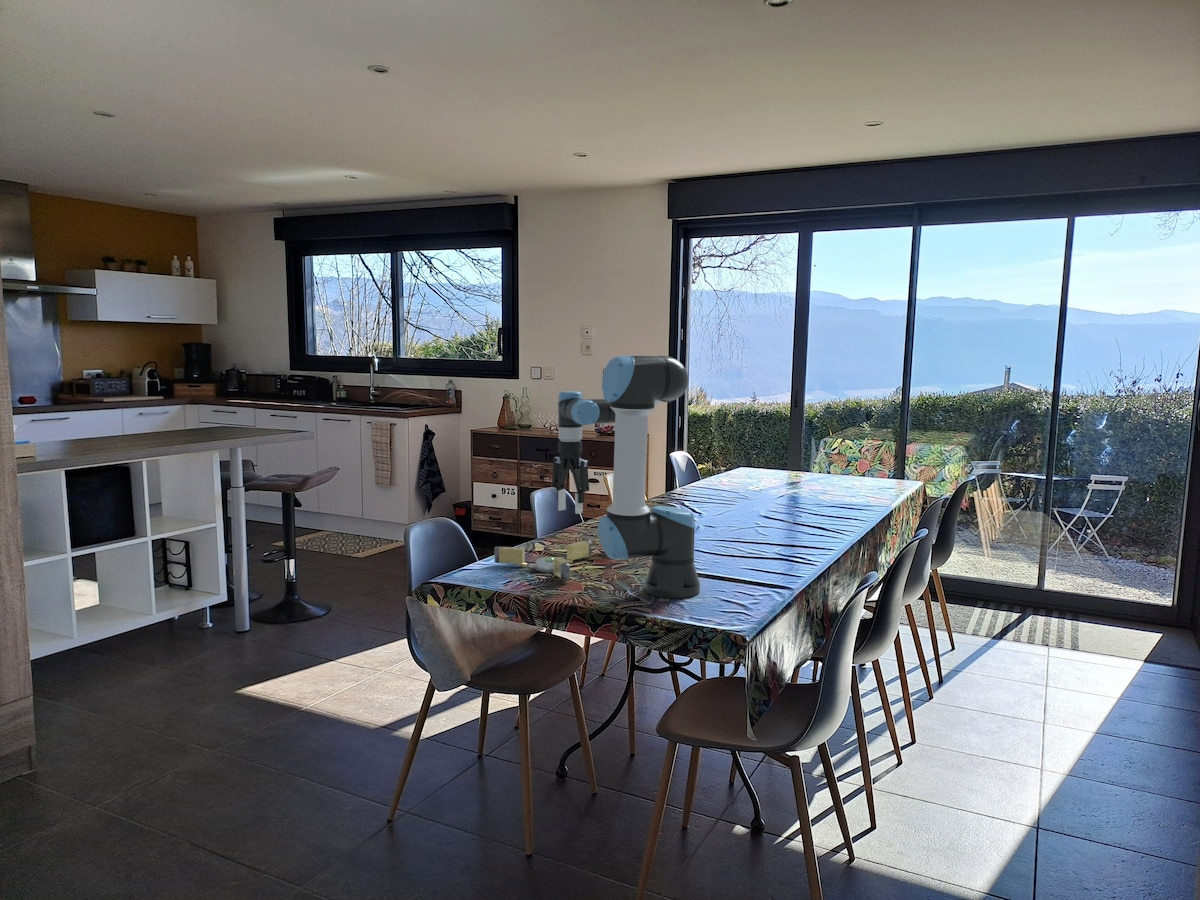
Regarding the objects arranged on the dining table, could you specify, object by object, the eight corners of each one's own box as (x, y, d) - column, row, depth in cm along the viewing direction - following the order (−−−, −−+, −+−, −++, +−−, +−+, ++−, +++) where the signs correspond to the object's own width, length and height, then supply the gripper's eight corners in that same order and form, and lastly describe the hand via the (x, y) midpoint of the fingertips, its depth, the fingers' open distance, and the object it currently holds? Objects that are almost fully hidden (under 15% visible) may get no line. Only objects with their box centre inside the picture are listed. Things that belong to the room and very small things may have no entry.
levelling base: (559, 574, 236) (559, 563, 236) (524, 572, 238) (524, 561, 238) (569, 564, 248) (569, 554, 247) (535, 562, 250) (535, 552, 250)
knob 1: (552, 574, 235) (552, 556, 235) (561, 574, 236) (561, 555, 236) (562, 584, 226) (562, 565, 225) (570, 583, 226) (570, 564, 226)
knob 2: (570, 563, 248) (570, 546, 247) (564, 562, 249) (564, 545, 249) (592, 557, 255) (592, 540, 255) (586, 556, 257) (586, 539, 256)
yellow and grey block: (528, 565, 246) (527, 548, 245) (525, 567, 243) (525, 550, 242) (496, 563, 248) (496, 546, 247) (493, 565, 245) (493, 548, 244)
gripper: (601, 441, 248) (601, 513, 251) (556, 437, 261) (556, 505, 264) (585, 443, 243) (585, 517, 246) (540, 438, 256) (540, 509, 259)
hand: (570, 511), depth 255 cm, fingers open, 7 cm apart
